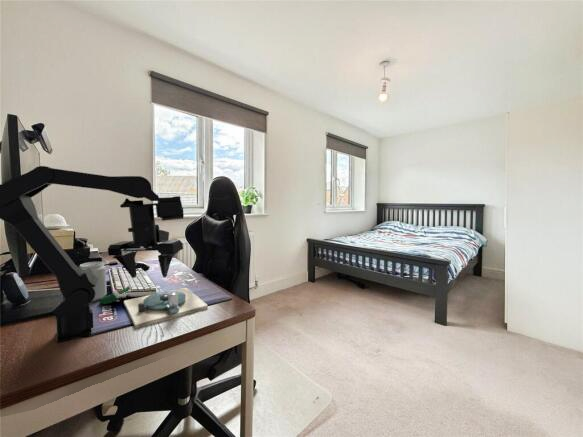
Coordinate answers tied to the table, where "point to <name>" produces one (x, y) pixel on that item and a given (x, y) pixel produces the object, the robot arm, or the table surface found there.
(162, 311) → the post base
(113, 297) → the green irregular piece
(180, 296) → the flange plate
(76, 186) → the robot arm
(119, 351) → the table surface
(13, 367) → the table surface
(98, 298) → the can
